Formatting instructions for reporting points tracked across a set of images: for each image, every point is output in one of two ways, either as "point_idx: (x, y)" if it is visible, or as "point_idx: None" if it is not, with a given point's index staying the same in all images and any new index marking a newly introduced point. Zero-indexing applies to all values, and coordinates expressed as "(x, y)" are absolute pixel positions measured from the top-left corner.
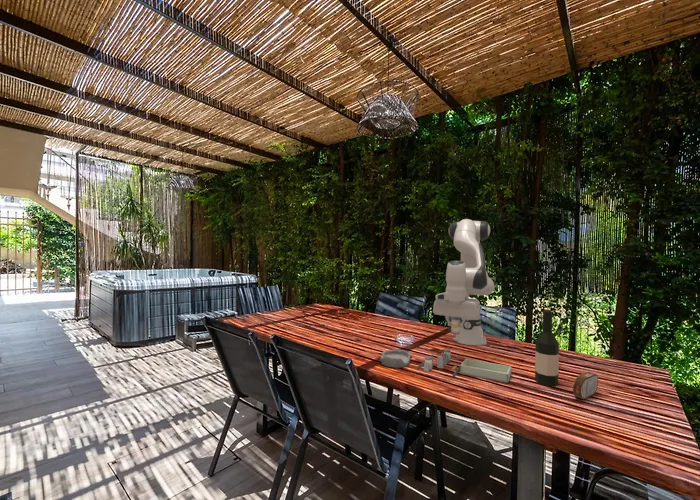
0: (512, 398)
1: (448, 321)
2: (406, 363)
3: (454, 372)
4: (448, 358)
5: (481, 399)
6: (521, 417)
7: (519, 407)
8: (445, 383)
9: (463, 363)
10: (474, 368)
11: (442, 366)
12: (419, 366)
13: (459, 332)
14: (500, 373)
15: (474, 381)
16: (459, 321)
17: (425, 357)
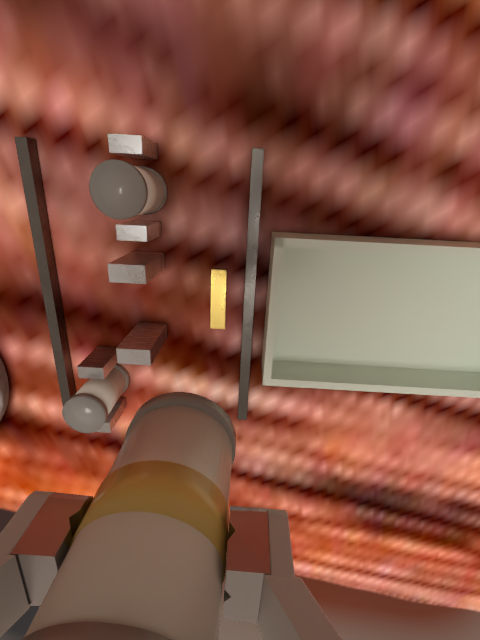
0: (466, 500)
1: (8, 620)
2: (2, 404)
3: (240, 394)
4: (153, 208)
5: (362, 541)
6: (465, 588)
7: (475, 544)
8: None
9: (274, 340)
10: (340, 389)
11: (164, 341)
12: (69, 396)
13: (233, 445)
14: (472, 395)
15: (333, 419)
16: (217, 627)
17: (72, 427)
